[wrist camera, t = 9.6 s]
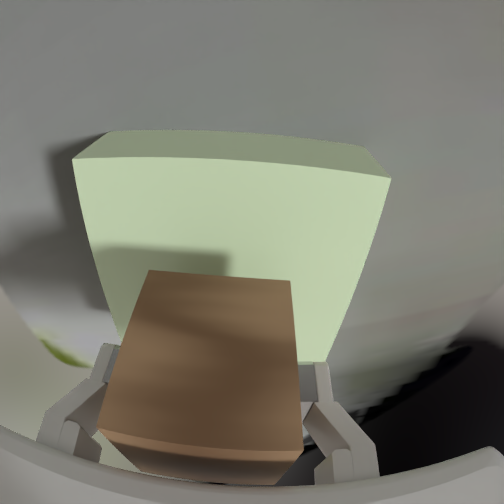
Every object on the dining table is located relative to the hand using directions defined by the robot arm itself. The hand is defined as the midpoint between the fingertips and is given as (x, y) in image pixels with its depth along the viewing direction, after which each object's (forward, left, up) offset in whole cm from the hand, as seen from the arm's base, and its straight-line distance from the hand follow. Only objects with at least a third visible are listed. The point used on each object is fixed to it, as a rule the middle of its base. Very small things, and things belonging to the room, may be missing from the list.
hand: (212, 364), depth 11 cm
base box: (0, 0, -8) cm, 8 cm away
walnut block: (0, 0, -2) cm, 2 cm away
